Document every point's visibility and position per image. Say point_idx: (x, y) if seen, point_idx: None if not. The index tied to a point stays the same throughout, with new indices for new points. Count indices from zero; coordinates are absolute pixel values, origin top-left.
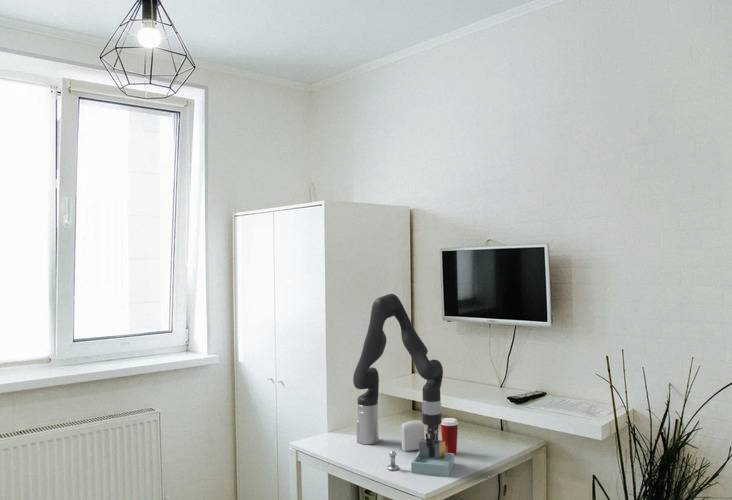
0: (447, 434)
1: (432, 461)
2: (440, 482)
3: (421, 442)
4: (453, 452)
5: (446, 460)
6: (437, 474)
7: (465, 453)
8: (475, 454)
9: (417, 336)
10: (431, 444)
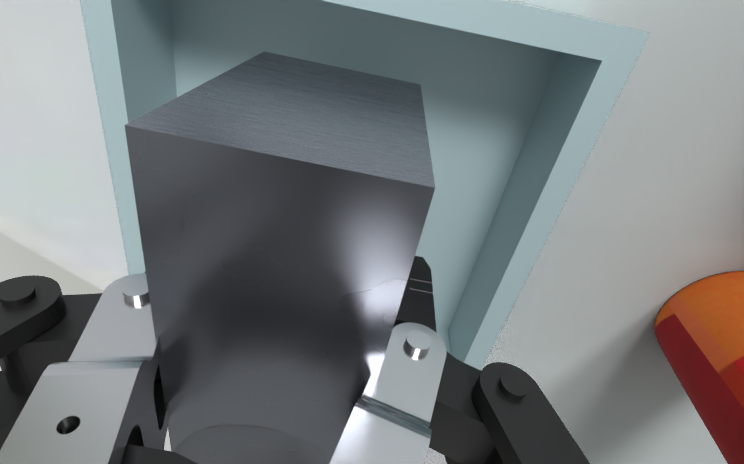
0: None
1: (451, 181)
2: (44, 221)
3: (137, 190)
4: (666, 355)
5: (462, 297)
6: None
7: (668, 403)
8: (626, 444)
9: None
10: (9, 385)
